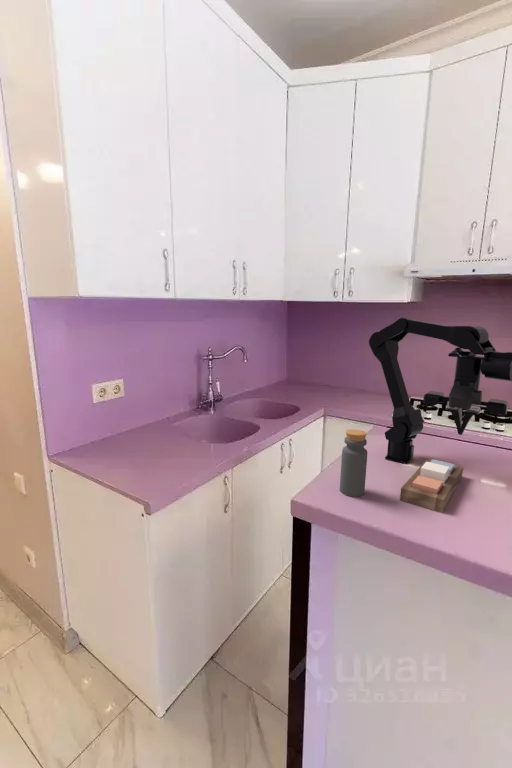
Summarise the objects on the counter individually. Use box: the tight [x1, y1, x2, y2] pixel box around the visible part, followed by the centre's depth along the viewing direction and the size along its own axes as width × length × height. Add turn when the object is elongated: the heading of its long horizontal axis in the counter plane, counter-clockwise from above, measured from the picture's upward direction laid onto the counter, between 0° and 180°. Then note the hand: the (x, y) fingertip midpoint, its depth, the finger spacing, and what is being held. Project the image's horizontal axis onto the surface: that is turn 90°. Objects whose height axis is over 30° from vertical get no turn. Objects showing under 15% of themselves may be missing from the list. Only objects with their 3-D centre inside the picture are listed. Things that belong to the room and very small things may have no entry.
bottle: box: [339, 428, 368, 498], centre depth 91 cm, size 6×6×15 cm
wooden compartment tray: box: [399, 458, 464, 514], centre depth 94 cm, size 9×24×3 cm, turn 143°
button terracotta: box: [412, 476, 443, 495], centre depth 89 cm, size 5×5×4 cm
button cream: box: [420, 462, 450, 484], centre depth 94 cm, size 5×5×4 cm
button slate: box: [430, 459, 455, 475], centre depth 100 cm, size 5×5×4 cm
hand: (460, 434), depth 99 cm, fingers closed
